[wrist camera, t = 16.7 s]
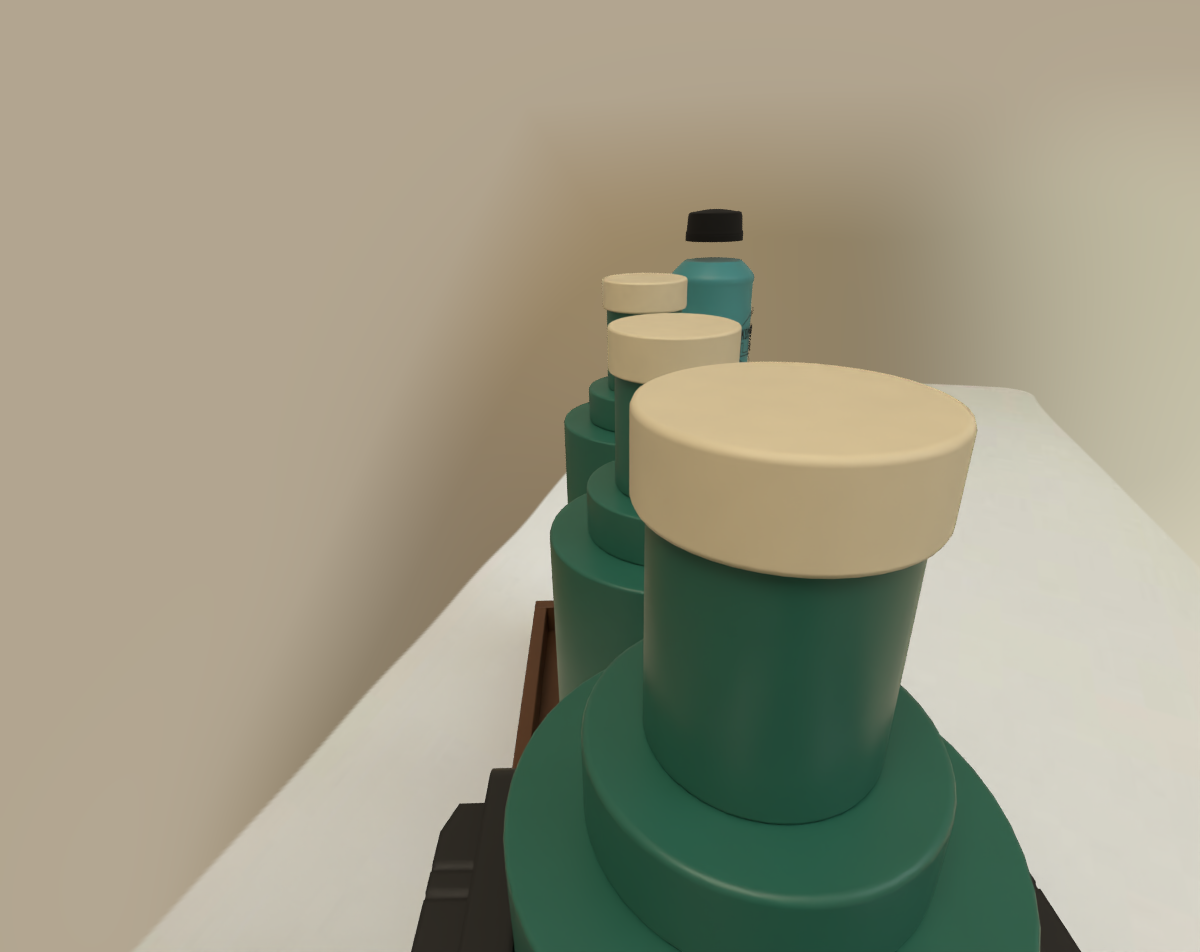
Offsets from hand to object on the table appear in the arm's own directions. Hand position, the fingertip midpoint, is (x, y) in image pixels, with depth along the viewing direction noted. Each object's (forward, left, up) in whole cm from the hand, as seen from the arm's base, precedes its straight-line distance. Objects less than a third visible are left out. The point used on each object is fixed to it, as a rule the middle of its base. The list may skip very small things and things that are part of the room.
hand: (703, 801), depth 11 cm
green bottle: (+2, -2, -10) cm, 10 cm away
